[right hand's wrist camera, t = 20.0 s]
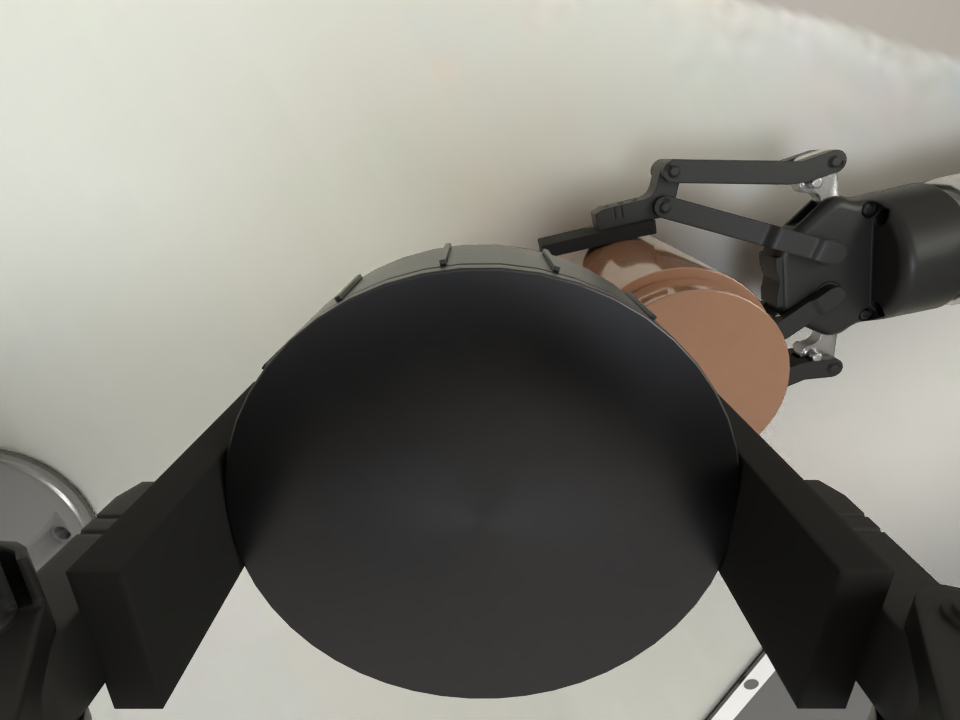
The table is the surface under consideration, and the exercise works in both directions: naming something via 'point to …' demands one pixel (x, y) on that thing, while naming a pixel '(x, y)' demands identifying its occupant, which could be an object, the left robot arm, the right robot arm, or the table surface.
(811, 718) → the tablet
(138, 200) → the table surface
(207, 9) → the table surface
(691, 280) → the jar
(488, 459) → the lid
